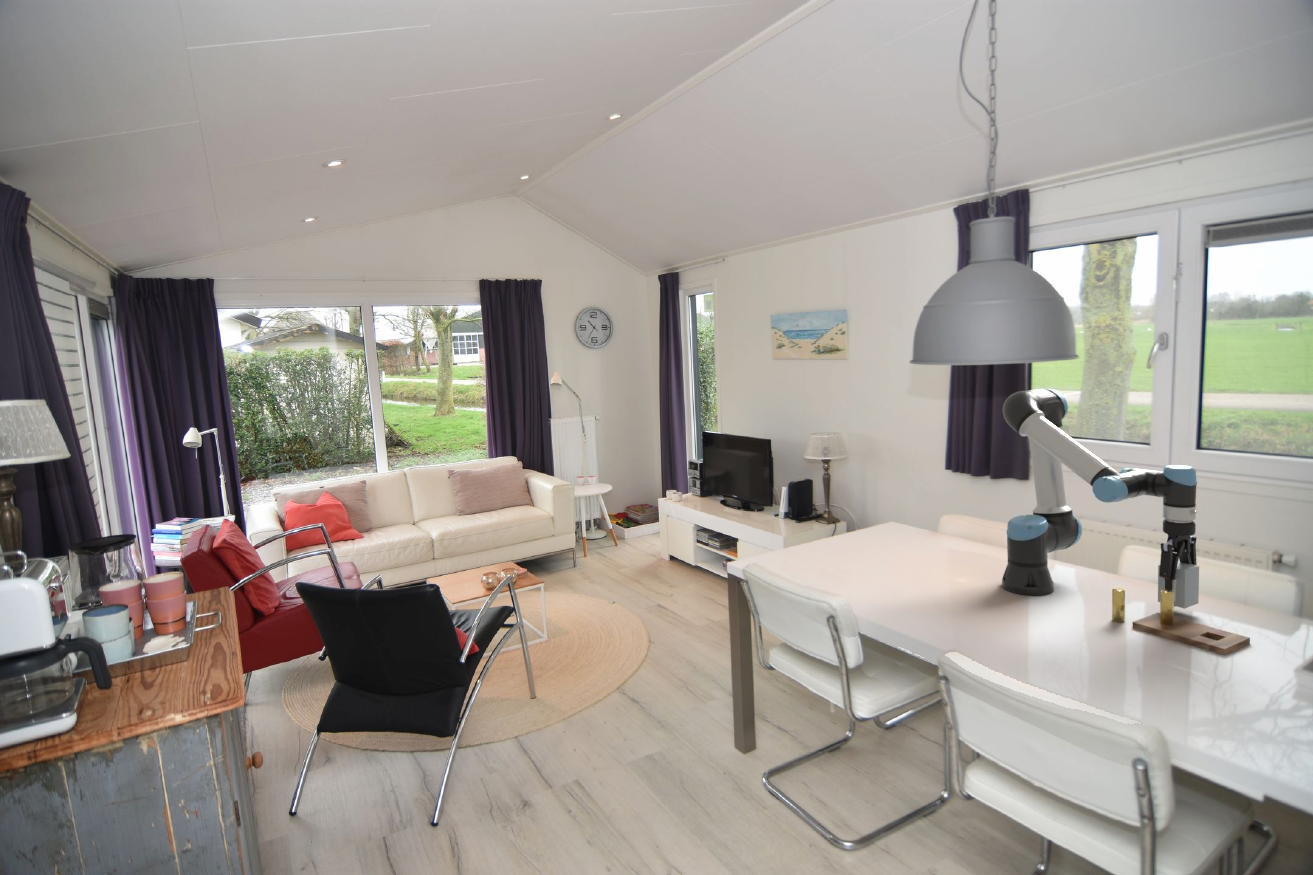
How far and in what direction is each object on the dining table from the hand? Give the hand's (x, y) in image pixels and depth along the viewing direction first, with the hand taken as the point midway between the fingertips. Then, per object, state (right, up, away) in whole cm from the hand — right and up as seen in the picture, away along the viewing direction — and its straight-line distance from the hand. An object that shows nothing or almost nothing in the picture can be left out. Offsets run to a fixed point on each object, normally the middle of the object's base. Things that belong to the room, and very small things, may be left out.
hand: (1177, 597), depth 203 cm
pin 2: (-10, -5, -10) cm, 15 cm away
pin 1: (-18, -6, -2) cm, 20 cm away
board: (-8, -7, -14) cm, 18 cm away
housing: (0, -1, 0) cm, 1 cm away
